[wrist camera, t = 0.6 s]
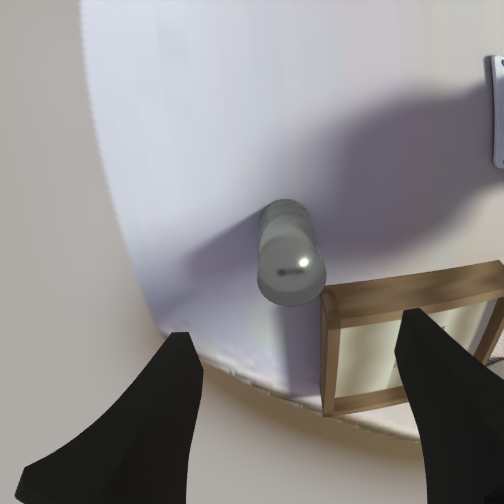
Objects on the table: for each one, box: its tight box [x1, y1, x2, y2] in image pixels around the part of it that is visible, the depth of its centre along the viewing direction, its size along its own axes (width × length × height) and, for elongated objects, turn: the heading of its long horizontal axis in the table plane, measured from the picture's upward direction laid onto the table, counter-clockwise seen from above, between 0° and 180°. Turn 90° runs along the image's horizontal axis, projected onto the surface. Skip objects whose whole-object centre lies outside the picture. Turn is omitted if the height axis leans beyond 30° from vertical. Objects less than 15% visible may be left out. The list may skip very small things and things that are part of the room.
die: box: [486, 359, 504, 379], centre depth 23 cm, size 8×9×10 cm
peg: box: [257, 199, 326, 307], centre depth 16 cm, size 3×3×6 cm
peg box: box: [320, 260, 504, 417], centre depth 21 cm, size 16×12×4 cm
